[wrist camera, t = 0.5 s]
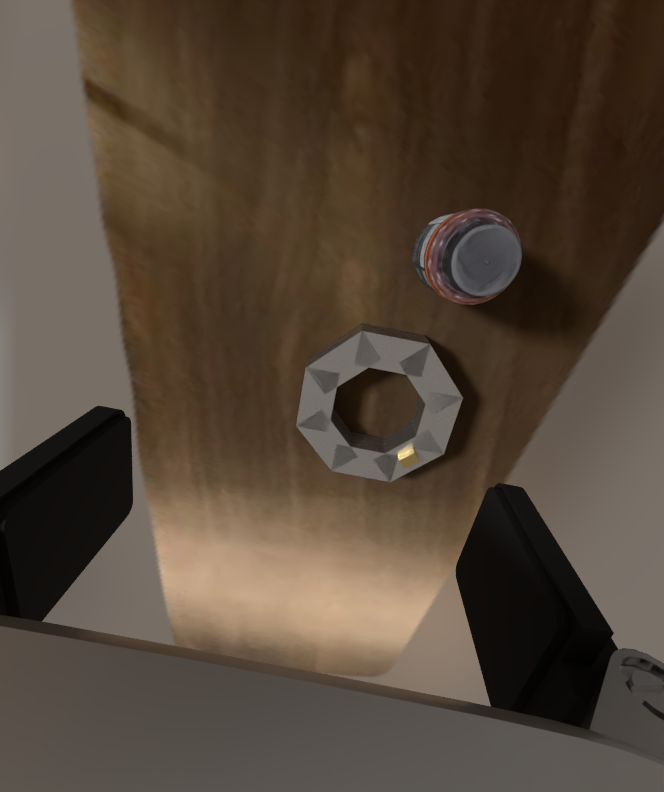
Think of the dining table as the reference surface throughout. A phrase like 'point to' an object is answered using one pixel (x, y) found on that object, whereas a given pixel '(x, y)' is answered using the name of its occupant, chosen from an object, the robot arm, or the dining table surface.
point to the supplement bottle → (468, 255)
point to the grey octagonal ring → (401, 446)
